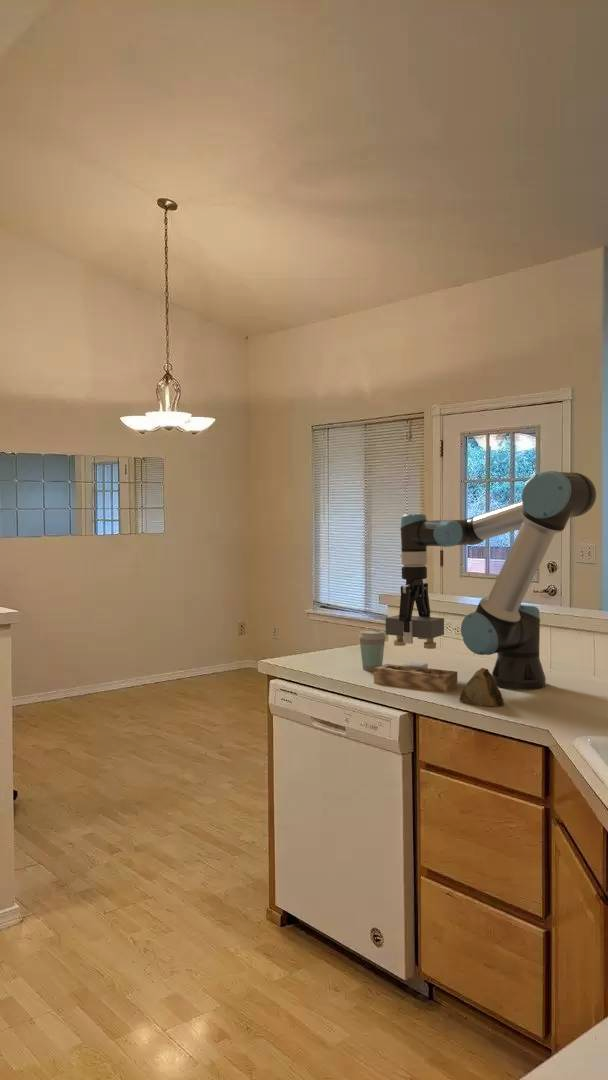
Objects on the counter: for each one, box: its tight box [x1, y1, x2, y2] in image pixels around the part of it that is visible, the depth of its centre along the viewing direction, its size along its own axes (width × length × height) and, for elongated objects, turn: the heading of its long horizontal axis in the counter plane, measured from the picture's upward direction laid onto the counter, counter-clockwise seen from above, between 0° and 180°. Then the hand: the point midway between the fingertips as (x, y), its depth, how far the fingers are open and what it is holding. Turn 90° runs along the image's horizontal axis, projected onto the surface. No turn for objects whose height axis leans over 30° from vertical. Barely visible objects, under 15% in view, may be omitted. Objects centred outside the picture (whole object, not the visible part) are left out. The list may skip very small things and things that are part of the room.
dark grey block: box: [385, 614, 445, 650], centre depth 255 cm, size 15×9×8 cm, turn 56°
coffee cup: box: [358, 629, 387, 672], centre depth 267 cm, size 8×8×12 cm
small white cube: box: [401, 661, 429, 668], centre depth 256 cm, size 6×7×4 cm
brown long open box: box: [373, 663, 458, 693], centre depth 244 cm, size 22×8×4 cm, turn 56°
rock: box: [459, 667, 506, 707], centre depth 221 cm, size 11×9×10 cm
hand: (415, 641), depth 255 cm, fingers closed on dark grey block, 9 cm apart
